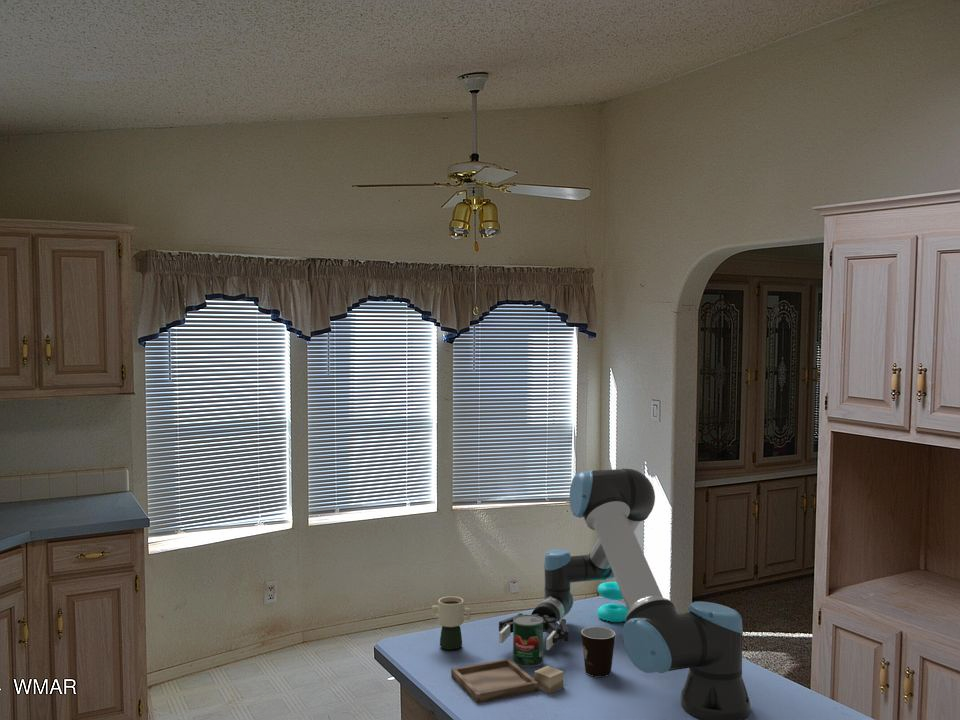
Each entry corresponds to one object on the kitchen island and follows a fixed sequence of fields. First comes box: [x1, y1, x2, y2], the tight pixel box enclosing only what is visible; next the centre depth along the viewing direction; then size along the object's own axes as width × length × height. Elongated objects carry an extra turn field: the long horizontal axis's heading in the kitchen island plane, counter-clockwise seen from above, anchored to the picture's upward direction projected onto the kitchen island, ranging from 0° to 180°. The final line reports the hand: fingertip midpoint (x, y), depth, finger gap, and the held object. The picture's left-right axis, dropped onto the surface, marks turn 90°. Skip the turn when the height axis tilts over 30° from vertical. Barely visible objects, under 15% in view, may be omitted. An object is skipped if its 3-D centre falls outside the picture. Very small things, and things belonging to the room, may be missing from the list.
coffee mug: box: [580, 626, 616, 677], centre depth 204 cm, size 12×9×10 cm
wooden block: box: [533, 665, 565, 694], centre depth 194 cm, size 5×5×4 cm
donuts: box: [597, 581, 629, 623], centre depth 242 cm, size 10×10×10 cm
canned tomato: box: [512, 614, 544, 668], centre depth 209 cm, size 8×8×11 cm
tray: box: [450, 658, 539, 704], centre depth 196 cm, size 16×16×2 cm
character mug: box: [431, 595, 471, 650], centre depth 219 cm, size 11×7×13 cm, turn 77°
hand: (523, 641), depth 206 cm, fingers open, 12 cm apart
